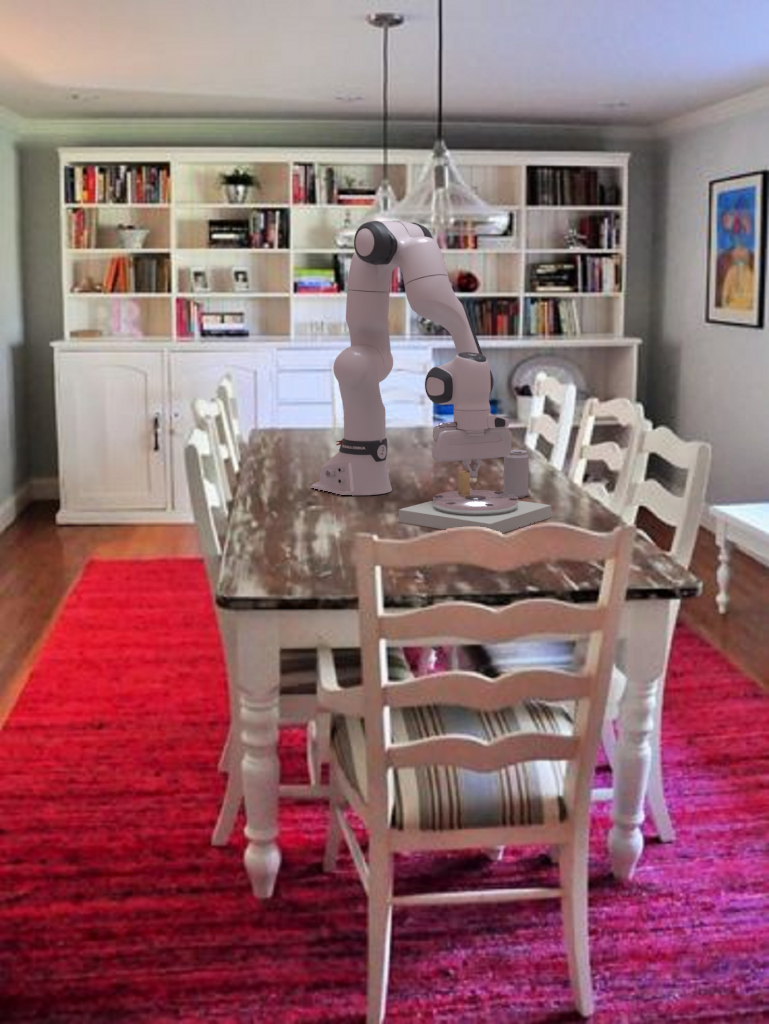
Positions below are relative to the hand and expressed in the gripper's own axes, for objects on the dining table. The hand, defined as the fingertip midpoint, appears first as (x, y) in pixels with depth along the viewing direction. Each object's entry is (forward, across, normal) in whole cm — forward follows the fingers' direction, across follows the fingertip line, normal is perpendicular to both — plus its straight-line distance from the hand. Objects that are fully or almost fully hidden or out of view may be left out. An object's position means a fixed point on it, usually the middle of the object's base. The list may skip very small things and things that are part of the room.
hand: (471, 477), depth 294 cm
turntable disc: (+5, -3, -8) cm, 10 cm away
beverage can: (+9, +20, +13) cm, 25 cm away
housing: (+9, -3, -8) cm, 12 cm away
